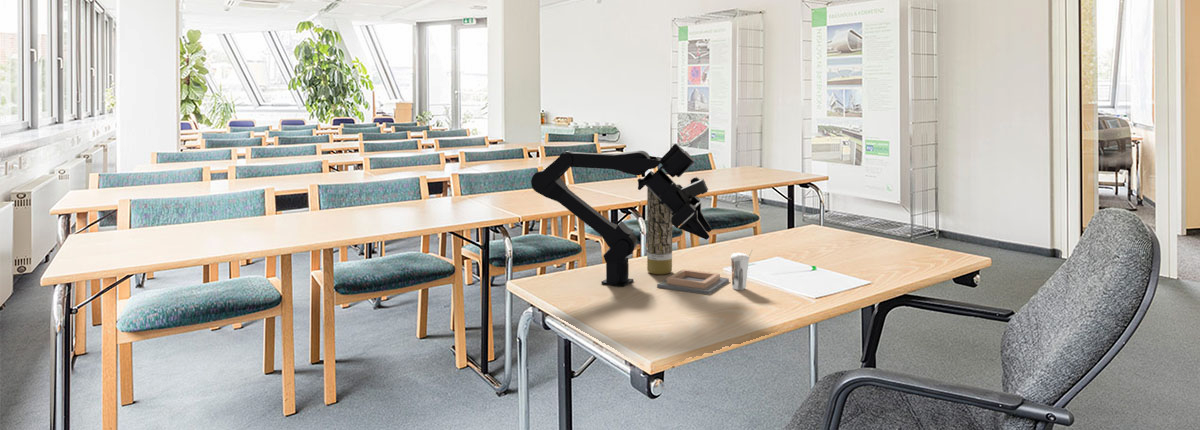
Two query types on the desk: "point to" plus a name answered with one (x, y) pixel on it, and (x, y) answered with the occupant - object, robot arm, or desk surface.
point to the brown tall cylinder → (658, 236)
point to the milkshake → (739, 270)
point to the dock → (694, 281)
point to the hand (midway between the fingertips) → (709, 234)
